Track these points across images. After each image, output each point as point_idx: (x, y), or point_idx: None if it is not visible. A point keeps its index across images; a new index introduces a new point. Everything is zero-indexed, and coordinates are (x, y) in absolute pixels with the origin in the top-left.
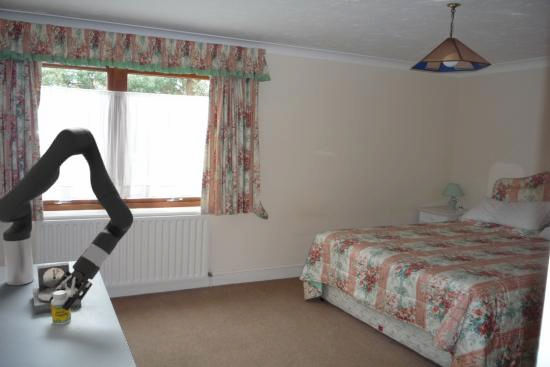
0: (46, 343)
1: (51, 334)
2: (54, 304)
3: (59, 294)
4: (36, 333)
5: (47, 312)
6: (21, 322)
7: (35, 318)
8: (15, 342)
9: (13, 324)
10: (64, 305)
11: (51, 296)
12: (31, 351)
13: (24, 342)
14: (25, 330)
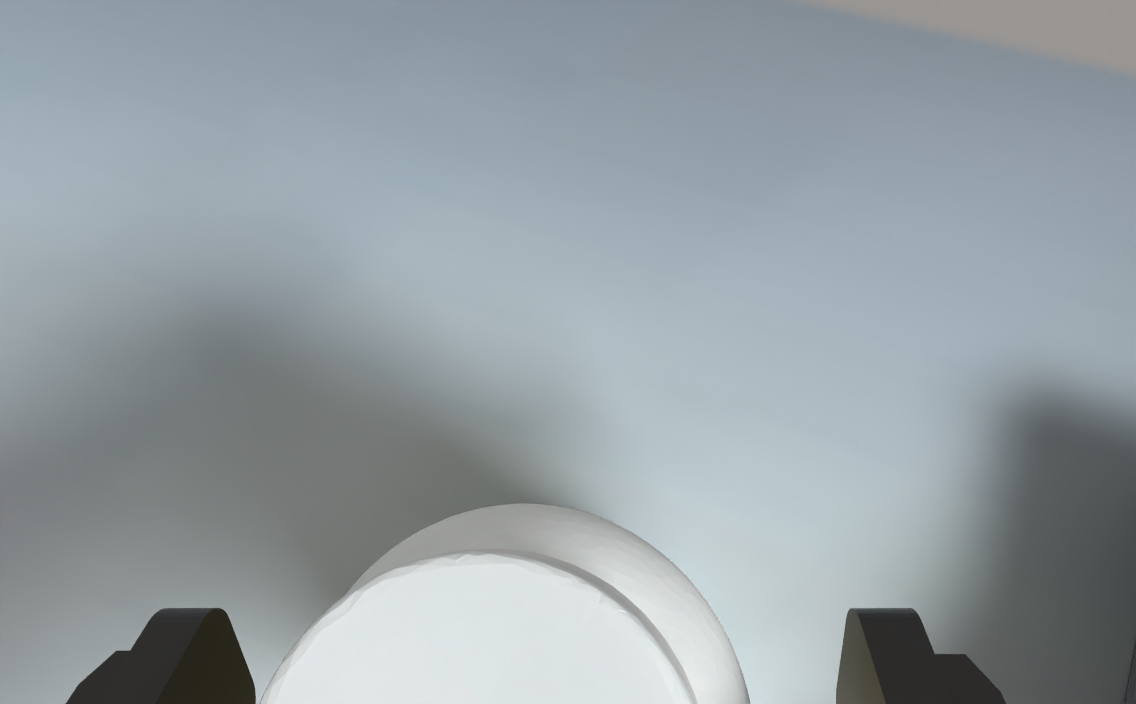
0: (101, 241)
1: (276, 378)
2: (426, 528)
3: (280, 690)
4: (459, 255)
5: (1130, 674)
6: (982, 236)
7: (999, 431)
8: (412, 13)
9: (985, 141)
10: (130, 656)
11: (943, 679)
12: (67, 66)
13: (331, 80)
14: (659, 190)
